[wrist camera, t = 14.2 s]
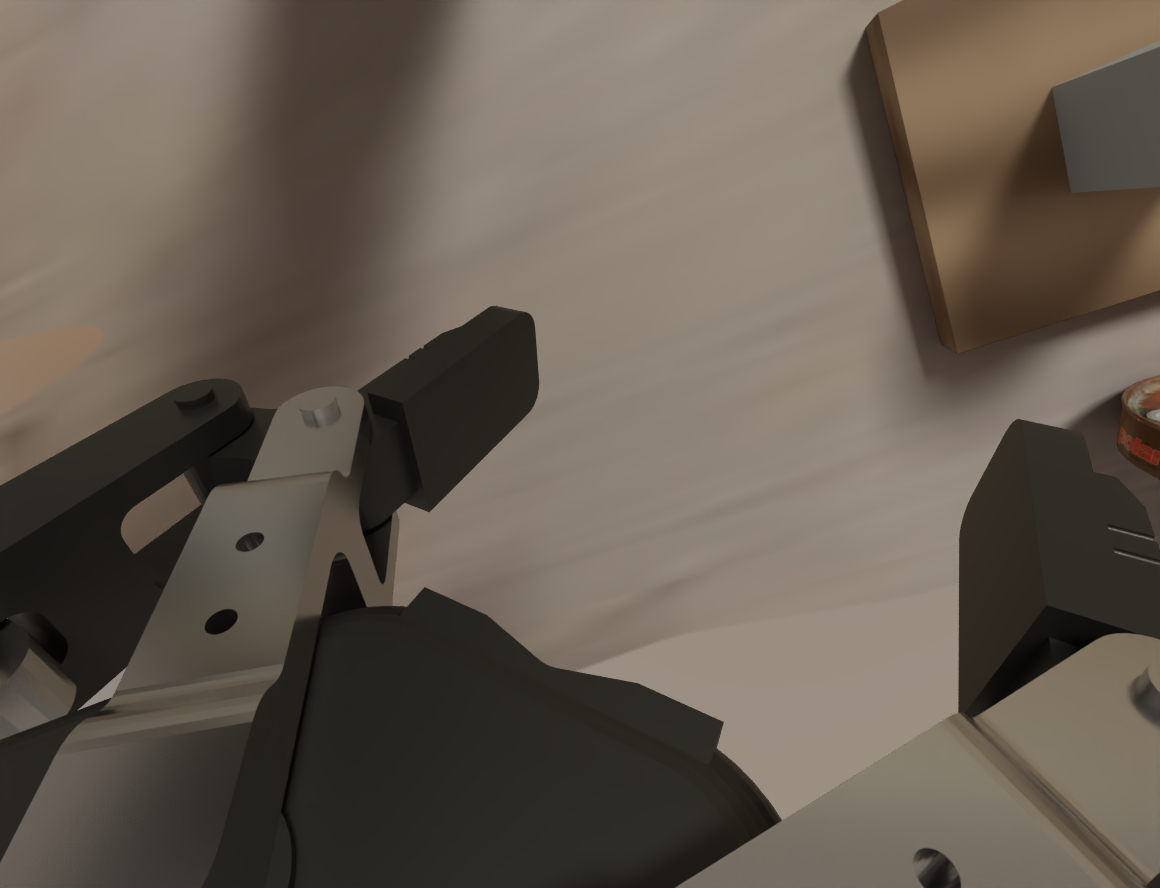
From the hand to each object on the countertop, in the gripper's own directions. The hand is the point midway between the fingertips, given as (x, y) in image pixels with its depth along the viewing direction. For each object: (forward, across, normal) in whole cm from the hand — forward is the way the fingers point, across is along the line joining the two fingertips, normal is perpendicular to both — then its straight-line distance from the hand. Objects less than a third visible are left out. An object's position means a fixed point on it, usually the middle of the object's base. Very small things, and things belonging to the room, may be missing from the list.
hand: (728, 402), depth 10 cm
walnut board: (+24, -8, -1) cm, 26 cm away
